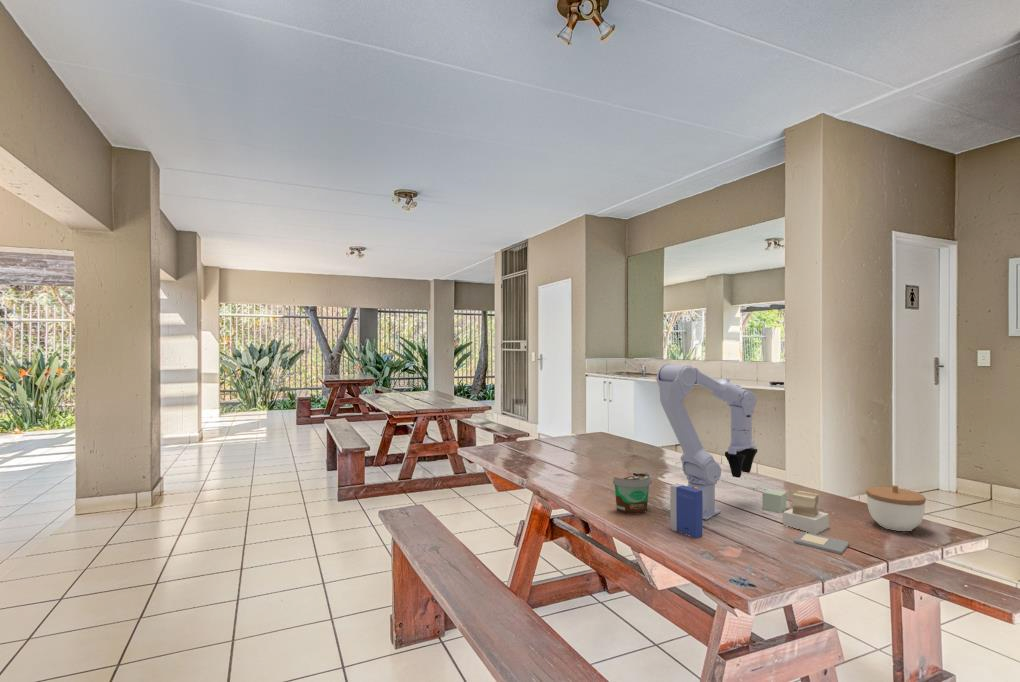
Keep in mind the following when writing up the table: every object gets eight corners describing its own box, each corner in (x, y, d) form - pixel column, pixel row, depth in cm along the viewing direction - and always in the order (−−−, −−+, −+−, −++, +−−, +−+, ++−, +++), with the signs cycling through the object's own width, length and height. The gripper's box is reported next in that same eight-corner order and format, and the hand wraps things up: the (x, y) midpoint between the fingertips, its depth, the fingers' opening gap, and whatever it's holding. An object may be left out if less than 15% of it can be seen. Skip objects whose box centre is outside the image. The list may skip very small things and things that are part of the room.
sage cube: (780, 513, 150) (780, 495, 150) (762, 509, 153) (762, 492, 153) (786, 509, 154) (786, 492, 154) (768, 505, 157) (768, 488, 157)
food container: (625, 517, 146) (625, 482, 146) (612, 511, 152) (612, 476, 152) (660, 511, 151) (660, 477, 151) (647, 505, 157) (647, 472, 157)
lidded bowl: (928, 527, 138) (928, 485, 138) (921, 540, 129) (921, 495, 129) (871, 516, 147) (871, 476, 147) (861, 527, 138) (861, 485, 138)
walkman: (702, 536, 132) (702, 488, 132) (695, 538, 131) (695, 490, 131) (676, 527, 139) (676, 482, 139) (669, 529, 137) (669, 483, 137)
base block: (815, 535, 133) (815, 520, 133) (783, 527, 140) (783, 512, 140) (828, 528, 138) (828, 513, 138) (797, 520, 144) (797, 506, 144)
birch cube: (813, 517, 135) (813, 498, 135) (792, 513, 139) (792, 494, 139) (818, 513, 139) (818, 494, 139) (798, 508, 142) (798, 490, 142)
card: (841, 554, 121) (841, 551, 121) (793, 542, 128) (793, 539, 128) (849, 544, 127) (849, 541, 127) (803, 533, 134) (803, 531, 134)
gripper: (745, 433, 148) (746, 481, 148) (763, 427, 159) (763, 472, 159) (721, 430, 153) (721, 477, 153) (740, 425, 163) (740, 468, 164)
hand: (741, 474), depth 156 cm, fingers open, 7 cm apart
